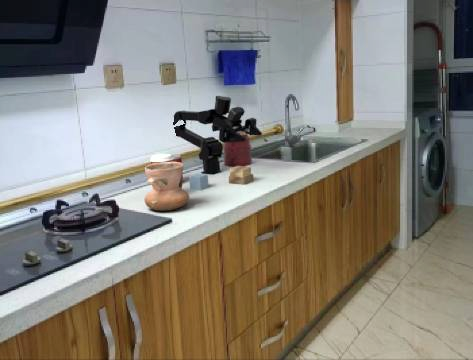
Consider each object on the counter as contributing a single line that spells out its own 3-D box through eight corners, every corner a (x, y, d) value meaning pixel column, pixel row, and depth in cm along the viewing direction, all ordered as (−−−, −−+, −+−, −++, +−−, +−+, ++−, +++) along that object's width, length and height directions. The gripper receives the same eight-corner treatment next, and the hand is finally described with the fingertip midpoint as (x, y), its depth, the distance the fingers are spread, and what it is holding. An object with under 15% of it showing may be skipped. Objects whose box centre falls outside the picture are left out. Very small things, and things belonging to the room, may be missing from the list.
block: (190, 189, 186) (189, 176, 184) (198, 186, 190) (197, 173, 189) (200, 190, 183) (199, 177, 182) (208, 187, 187) (207, 174, 186)
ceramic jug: (170, 217, 152) (166, 171, 148) (133, 212, 159) (129, 169, 155) (202, 202, 167) (199, 160, 164) (167, 198, 174) (163, 158, 171)
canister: (234, 160, 238) (232, 123, 234) (257, 162, 230) (255, 124, 226) (218, 165, 228) (215, 127, 224) (241, 167, 220) (239, 128, 216)
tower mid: (229, 176, 191) (229, 169, 190) (238, 173, 196) (237, 165, 195) (243, 177, 188) (242, 170, 187) (251, 174, 193) (250, 166, 192)
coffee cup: (157, 201, 171) (153, 158, 167) (150, 196, 178) (146, 155, 175) (180, 197, 174) (177, 155, 171) (172, 192, 182) (168, 152, 178)
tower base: (229, 184, 191) (228, 176, 191) (238, 180, 197) (238, 173, 196) (244, 185, 188) (244, 178, 187) (253, 181, 193) (253, 174, 193)
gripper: (209, 109, 191) (238, 122, 182) (243, 101, 203) (271, 112, 194) (208, 136, 196) (235, 149, 187) (241, 126, 209) (268, 138, 199)
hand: (253, 136), depth 192 cm, fingers open, 9 cm apart
